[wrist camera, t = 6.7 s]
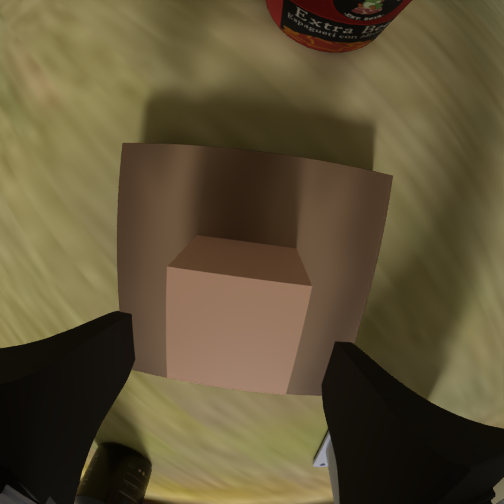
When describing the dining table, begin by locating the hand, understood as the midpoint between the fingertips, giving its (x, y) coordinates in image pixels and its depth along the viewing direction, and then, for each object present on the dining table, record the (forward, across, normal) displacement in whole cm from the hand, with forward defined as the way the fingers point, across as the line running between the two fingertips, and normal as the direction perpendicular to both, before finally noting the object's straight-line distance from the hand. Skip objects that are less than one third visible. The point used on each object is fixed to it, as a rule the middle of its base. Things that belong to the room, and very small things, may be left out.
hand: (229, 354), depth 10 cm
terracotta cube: (+6, 0, 0) cm, 6 cm away
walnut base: (+9, 0, 0) cm, 9 cm away
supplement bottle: (+9, +11, +25) cm, 29 cm away
